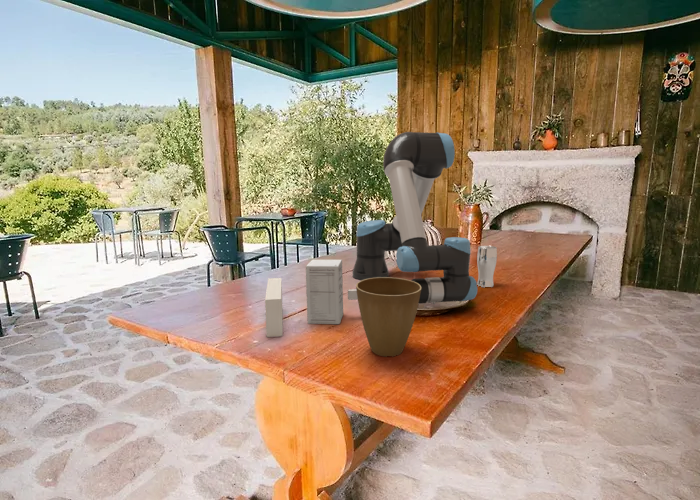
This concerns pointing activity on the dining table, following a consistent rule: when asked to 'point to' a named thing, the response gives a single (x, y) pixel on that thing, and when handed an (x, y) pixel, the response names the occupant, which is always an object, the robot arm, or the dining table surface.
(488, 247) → the beer glass
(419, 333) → the dining table surface
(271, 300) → the white rectangular block
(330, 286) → the supplement box
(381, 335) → the plant pot
